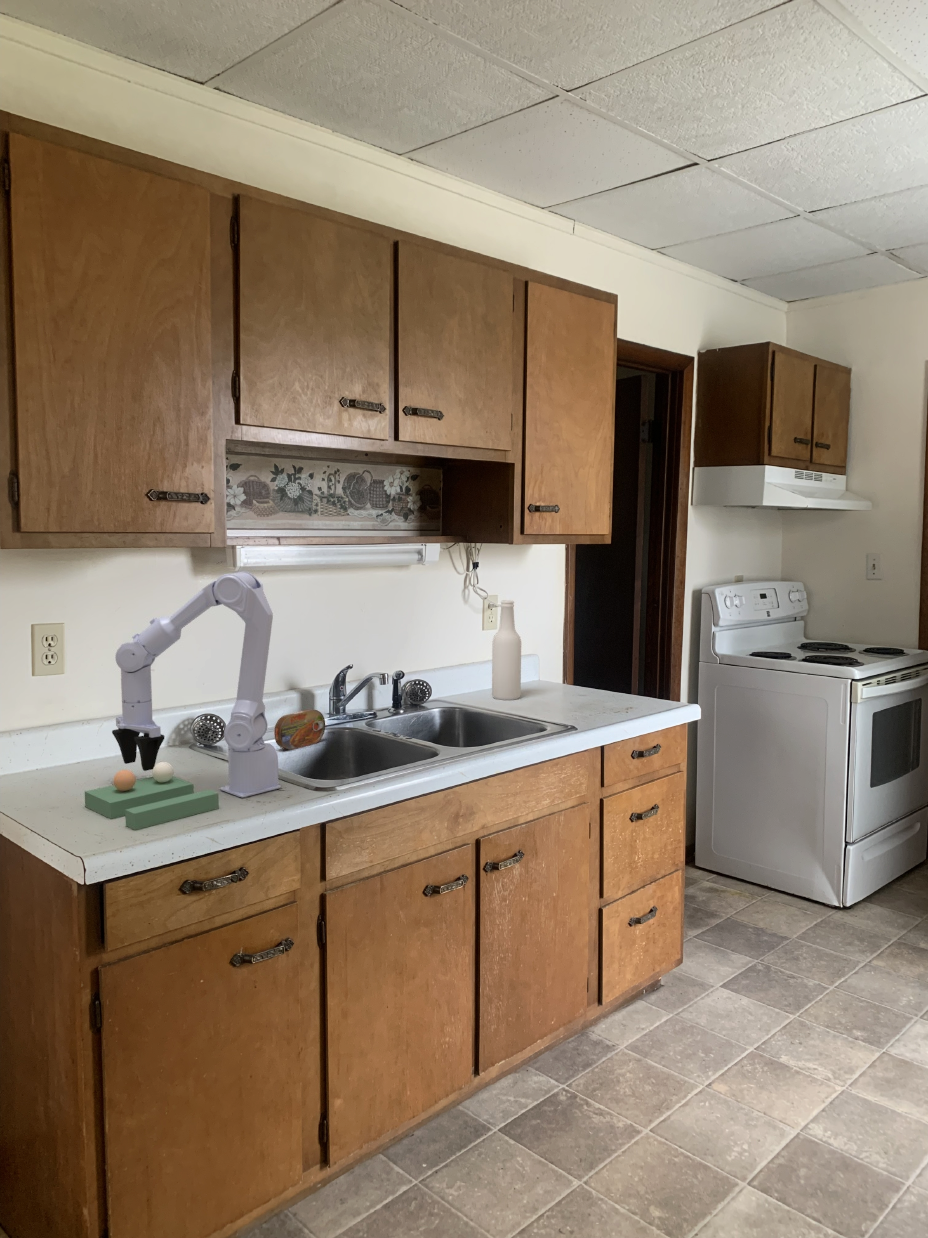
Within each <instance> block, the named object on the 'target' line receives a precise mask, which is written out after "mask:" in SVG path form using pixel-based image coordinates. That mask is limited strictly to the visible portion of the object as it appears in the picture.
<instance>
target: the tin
mask: <svg viewBox="0 0 928 1238" xmlns="http://www.w3.org/2000/svg"><path fill="white" fill-rule="evenodd" d="M273 731H274V740H275V743H276V745H277V746H278V747H279V748H282V749H284V750H289V751H293V750H297V749H301V748H304V747H308V746H312V745H315V744H317V743H318V742H320V741H321V740H322V738H323V737H324V734H325V731H326V720H325V717H324V715H323V713H322V712H321V711H319V710H318V709H305V710H301V711H297V712H294V713H293V712H292V713H288V714H285V715H282V716H281V717H279V719H278V720H277V721H276V723H275V726H274V730H273Z"/></svg>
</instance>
